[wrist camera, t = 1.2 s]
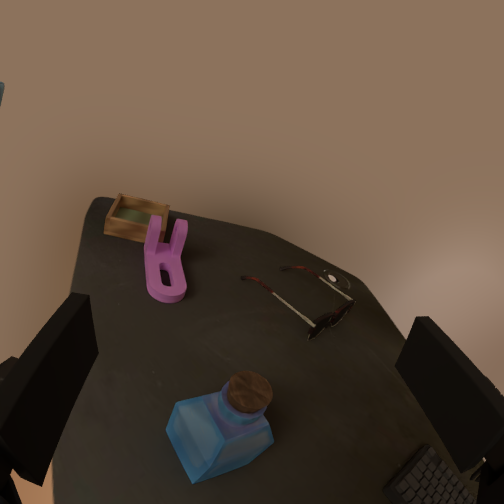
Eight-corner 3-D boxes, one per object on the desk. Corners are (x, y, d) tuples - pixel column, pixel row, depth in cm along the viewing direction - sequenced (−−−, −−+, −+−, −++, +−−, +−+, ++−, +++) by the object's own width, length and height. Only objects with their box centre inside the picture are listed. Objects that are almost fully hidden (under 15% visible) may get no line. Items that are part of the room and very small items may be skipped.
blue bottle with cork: (165, 429, 25) (191, 362, 19) (219, 415, 28) (263, 347, 23) (192, 484, 21) (234, 441, 15) (248, 463, 24) (308, 410, 19)
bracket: (143, 247, 49) (152, 210, 45) (175, 251, 51) (185, 216, 48) (148, 301, 39) (157, 259, 36) (187, 304, 41) (200, 265, 38)
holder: (103, 233, 47) (105, 217, 46) (116, 207, 56) (119, 193, 54) (161, 247, 51) (165, 231, 49) (166, 219, 59) (169, 205, 58)
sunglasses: (301, 347, 42) (316, 322, 40) (232, 284, 51) (241, 259, 49) (344, 320, 52) (357, 299, 50) (282, 272, 61) (292, 250, 59)
